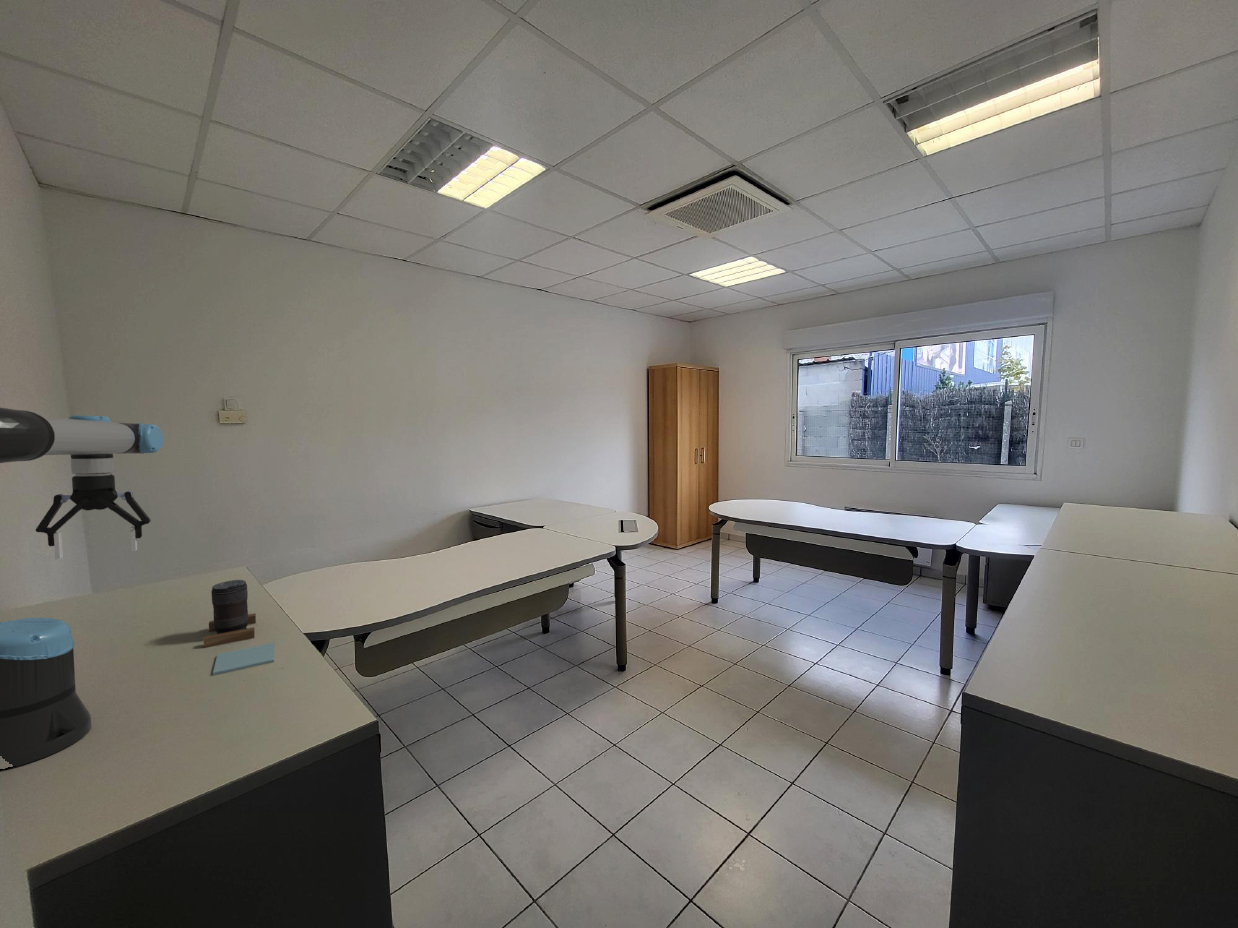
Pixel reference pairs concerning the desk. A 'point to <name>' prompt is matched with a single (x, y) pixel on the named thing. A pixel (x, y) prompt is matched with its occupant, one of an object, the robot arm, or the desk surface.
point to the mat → (244, 658)
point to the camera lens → (230, 606)
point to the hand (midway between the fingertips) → (98, 554)
